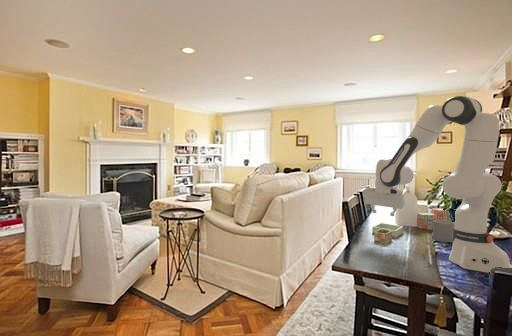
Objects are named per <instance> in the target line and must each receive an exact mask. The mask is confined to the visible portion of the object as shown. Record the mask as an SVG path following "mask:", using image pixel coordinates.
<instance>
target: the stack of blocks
mask: <svg viewBox="0 0 512 336" xmlns="http://www.w3.org/2000/svg"><path fill="white" fill-rule="evenodd" d="M433 220H448V221H451V218H450V213H449V212H448V211H444V210H443V208H440V207H439V208H437V207H436V208H435V207H434V208H433V207H432V208H431V212H418V213H417V228H418V229H421V230H432V229H433Z"/></svg>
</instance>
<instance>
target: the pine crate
mask: <svg viewBox="0 0 512 336" xmlns="http://www.w3.org/2000/svg"><path fill="white" fill-rule="evenodd" d="M373 235H374V237H373V238H374V239H373V240H374V242H376V241H377V243H382V244H388V243H389V242H390V241H392V239H393V237H392V231H390V230H385V229H379V230H377V231H375V232H374V234H373Z"/></svg>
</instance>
